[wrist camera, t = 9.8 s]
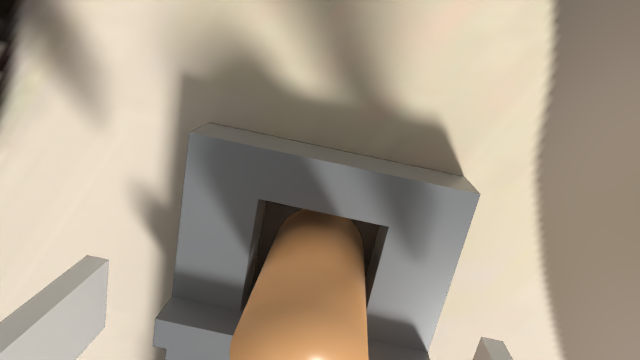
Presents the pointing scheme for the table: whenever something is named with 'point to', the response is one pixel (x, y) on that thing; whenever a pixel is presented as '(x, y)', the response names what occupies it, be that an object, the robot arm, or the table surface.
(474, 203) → the housing
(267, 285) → the pin
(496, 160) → the table surface
